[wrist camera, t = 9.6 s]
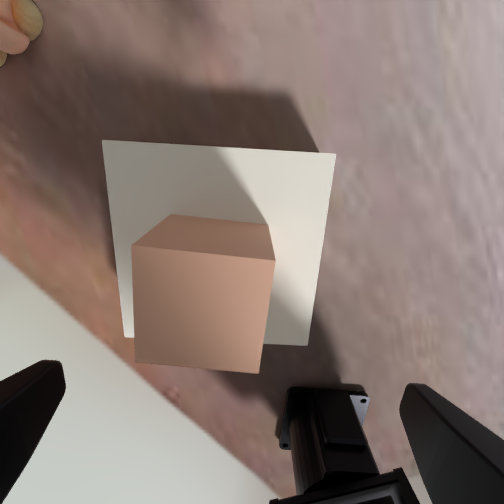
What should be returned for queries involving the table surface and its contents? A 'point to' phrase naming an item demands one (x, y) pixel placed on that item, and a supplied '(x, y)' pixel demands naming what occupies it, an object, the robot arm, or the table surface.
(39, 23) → the grandmother figurine
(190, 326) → the terracotta block
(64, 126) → the table surface
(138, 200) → the cream box
